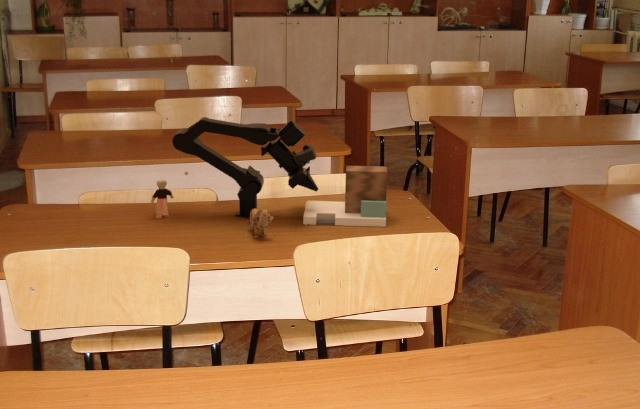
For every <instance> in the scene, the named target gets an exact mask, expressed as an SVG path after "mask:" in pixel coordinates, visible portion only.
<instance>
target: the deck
mask: <svg viewBox="0 0 640 409" xmlns="http://www.w3.org/2000/svg"><path fill="white" fill-rule="evenodd" d="M387 203H388V202H387V200H386V201H363V200H361V213H345V201H336V200H335V201H330V200H329V201H328V200H306V203H305V207H304V208H305V209H304V212H303V219H302V220H303V225H308V224H309V225H314V226H315V225H316V226H345V227H346V226H349V227H352V226H353V227H382V228H383V227H387ZM309 225H308V226H309Z"/></svg>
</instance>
